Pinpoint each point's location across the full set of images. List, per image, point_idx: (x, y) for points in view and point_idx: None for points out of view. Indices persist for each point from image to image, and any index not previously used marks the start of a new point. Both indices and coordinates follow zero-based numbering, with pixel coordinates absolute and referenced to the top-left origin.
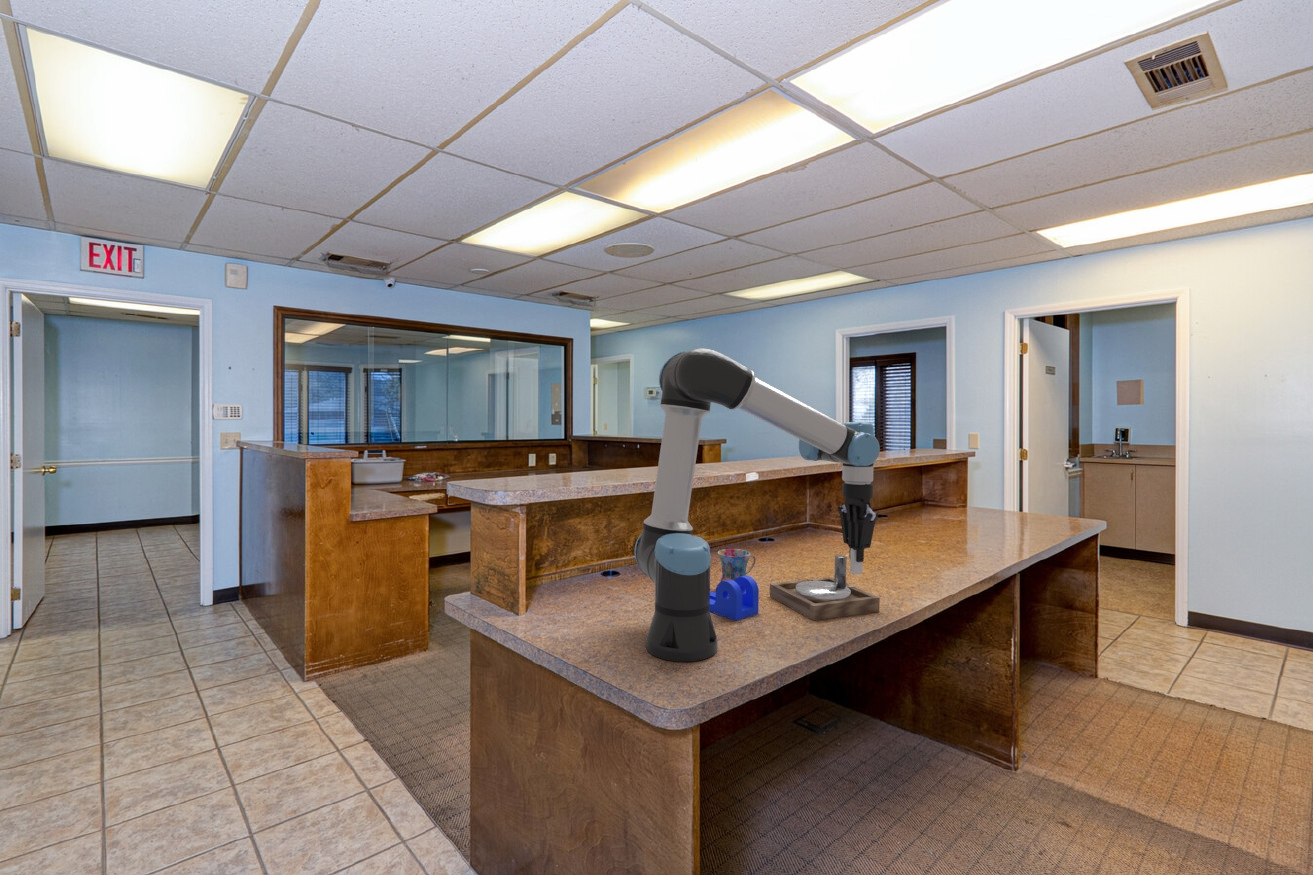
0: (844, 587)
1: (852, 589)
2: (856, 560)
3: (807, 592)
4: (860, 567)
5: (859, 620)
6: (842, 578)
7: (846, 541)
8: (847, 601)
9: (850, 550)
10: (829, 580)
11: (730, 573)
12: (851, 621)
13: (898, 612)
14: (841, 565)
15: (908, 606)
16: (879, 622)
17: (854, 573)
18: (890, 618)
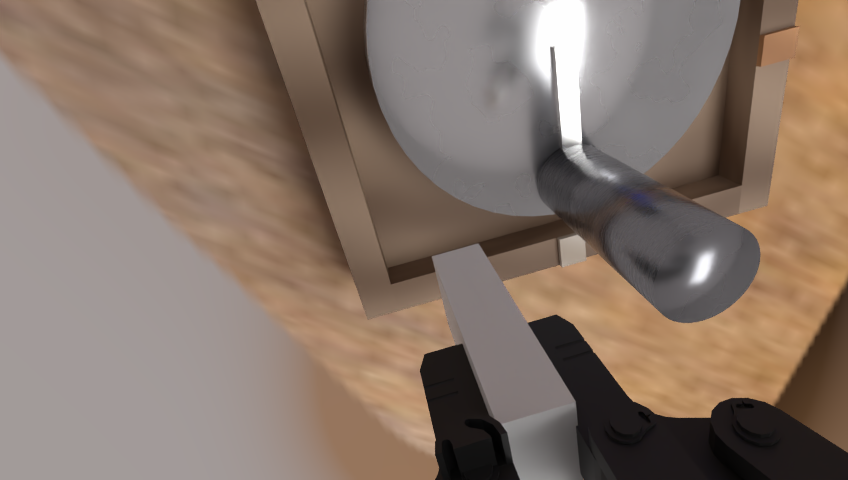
0: (538, 193)
1: (539, 239)
2: (460, 350)
3: None
4: (456, 341)
5: (218, 127)
6: (564, 200)
7: (721, 440)
8: (298, 107)
9: (560, 379)
10: (734, 182)
11: None
12: (196, 72)
13: (343, 348)
14: (618, 232)
15: (416, 406)
16: (193, 218)
17: (434, 265)
18: (259, 289)
